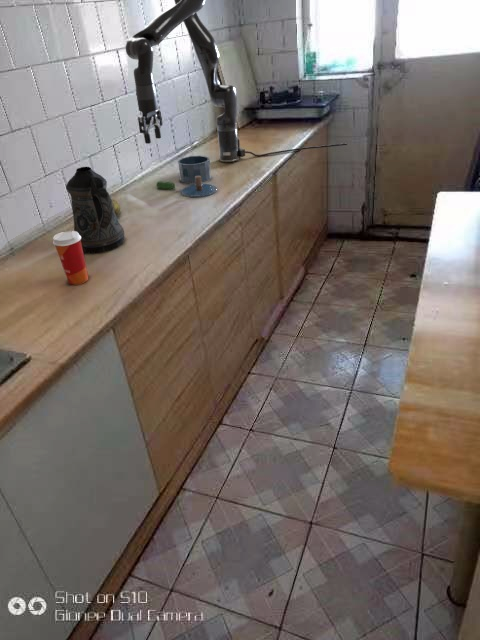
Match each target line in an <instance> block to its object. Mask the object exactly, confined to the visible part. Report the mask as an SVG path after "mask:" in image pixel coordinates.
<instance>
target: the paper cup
mask: <svg viewBox="0 0 480 640" xmlns="http://www.w3.org/2000/svg"><path fill="white" fill-rule="evenodd" d="M52 240H53V241H52V244H53V245H54V247H55V250H56V253H57V255H58V257H59V261H60V263H61V266H62V268H63V271H64V274H65V276H66V279H67V281H68V283H69V284H70V285H72V286H74V285H75V286H77V285H82V284H85V283H86V282H87V281H88V280H89V275H88V269H87V264H86V259H85V253H84V252H83V249H82V244H81V236H80V235H79V233H78V232H76V231H74V230H67V231H60V232H58V233H56V234H55V235H53V238H52Z"/></svg>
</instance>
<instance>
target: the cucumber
mask: <svg viewBox="0 0 480 640" xmlns="http://www.w3.org/2000/svg"><path fill="white" fill-rule="evenodd" d="M155 186H156V188H157V189H158V190H167V191H171V190H174V189H175V188H176V184H175V182H173V181H167V180H166V181H164V180H159V181H157V182H156V185H155Z"/></svg>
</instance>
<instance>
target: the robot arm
mask: <svg viewBox="0 0 480 640" xmlns="http://www.w3.org/2000/svg"><path fill="white" fill-rule="evenodd" d="M173 1H174V4H175V5H173V6H171V7H170V8H168V9H167V10H165V11H163V12H161V13H159V14H158V15H156V16H155V17H154V18H153V19H152V20H151V21H150V22H149V23H148V24H147V25H146V26H145V27H144V28H143V29H141V30H139V31H138V32H136V33H134V35H132V36H131V37H129V38H128V40H127V41H126V45H125V52H126V55H127V57H128V58H130V59H132V60H134V61H136V60H137V67H135V68H134V69H133V78H134V84H135V94H136V95H135V96H136V100H137V107H138V111H139V112H141V114H142V115H141V116H137V121H138V129H139V133H140V134H143V137H144V143H145V144H151V143H152V141H151V135H150V130H151V129H152V127H153V128H154V129H153V130H154V135H155V139H161V138H162V133H161V128H162V126H164V125H163V119H162V112H161V110H160V109H159V104H158V98H157V90H156V87H155V84H154V83H155V82H154V74H153V68H154V67H153V66H154V49H153V48H154V47H156V46H158V45H159V44H161V43H162V42H163V40H165V38H167V36H168V35H169V34H171V33H172V32H173V30H175V29H176V28H177V27H178V26H180V25H181V24H182V23H183V24H184V26H185V28H186V31H187V33H188V36H189V38H190V40H191V44H192V46H193V49H194V52H195V54H196V57H197V60H198V62H199V65H200V67H201V70H202V73H203V76H204V79H205V83H206V86H207V90H208V94H209V97H210V101H211V102H212V105H214V106H215V107H218V108H224V109H223V110H224V111H223V113H222V114H220V115H217V117H216V128H217V141H218V151H219V152H218V153H219V161H220V162H221V163H234V162H237V161H240V160H241V158H244V157H246V154H250V155H252V156H254V157H265V156H269V155H274V154H281V153H288V152H293V151H294V152H295V151H300V150H301V151H302V150H303V151H304V150H312V149H321V148H330V147H340V146H348V142H344V143H336V144H335V143H334V144H325V145H316V146H315V145H314V146H306V147H297V148H291V149H284V150H278V151H270V152H267V153H263V154H256V153H254V152H252V151H249V150H247V151H246V149H244V148H241V144H240V138H239V137H238V126H237V116H238V95H237V94H238V93H237V90H236V87H235V86H234V85H232V84H231V85H230V84H221V83H220V81H219V77H218V69H219V68H218V67H219V63H220V62H219V61H220V52H219V49H218V46H217V43H216V40H215V37H214V36H213V35H212V33H211V31H209V30H208V28H207V27H206V26H205V24H204V23H203V22H202V21H201V19H200V17H199V15H198V12H200V10H201V9H202V8H203V7H204V6H205V2H206V0H173Z"/></svg>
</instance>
